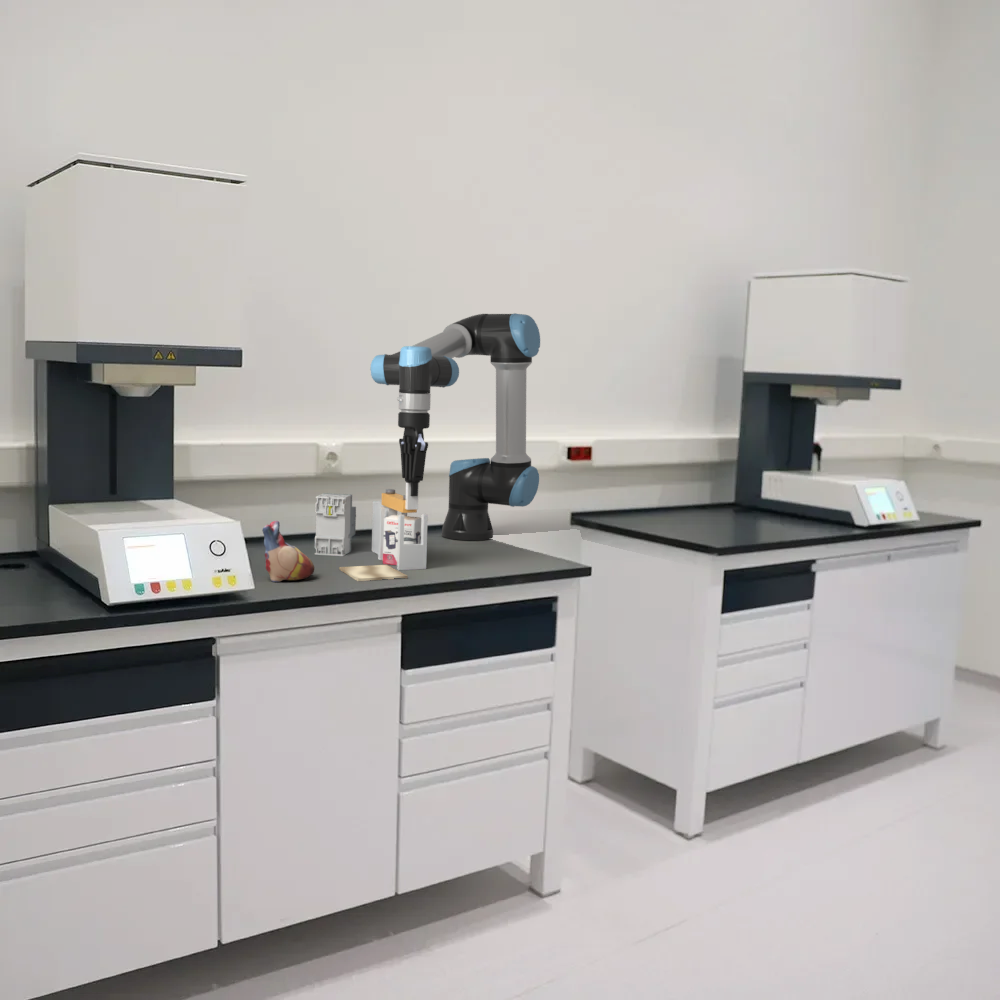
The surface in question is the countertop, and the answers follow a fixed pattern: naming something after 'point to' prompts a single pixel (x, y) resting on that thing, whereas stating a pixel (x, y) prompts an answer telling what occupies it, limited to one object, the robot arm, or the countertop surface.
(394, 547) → the ink box
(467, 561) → the countertop surface
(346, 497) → the circuit breaker
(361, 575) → the birch pad
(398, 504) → the bar
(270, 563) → the anatomical model
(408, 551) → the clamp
